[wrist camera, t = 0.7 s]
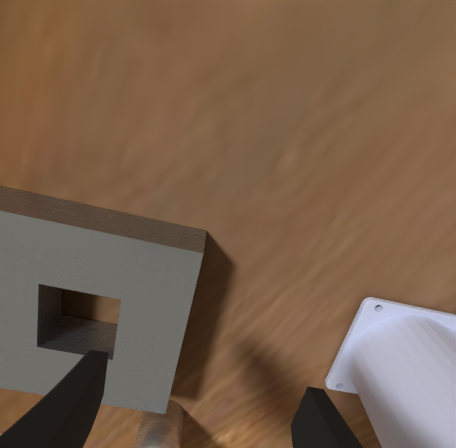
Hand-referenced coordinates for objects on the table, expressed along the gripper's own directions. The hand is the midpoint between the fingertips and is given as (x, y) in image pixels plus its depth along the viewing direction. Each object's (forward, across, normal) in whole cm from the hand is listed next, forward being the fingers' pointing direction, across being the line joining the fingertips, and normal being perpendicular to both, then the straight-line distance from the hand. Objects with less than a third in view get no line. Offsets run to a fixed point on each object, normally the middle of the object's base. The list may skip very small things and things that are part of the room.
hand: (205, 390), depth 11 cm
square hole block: (+9, +11, +4) cm, 15 cm away
